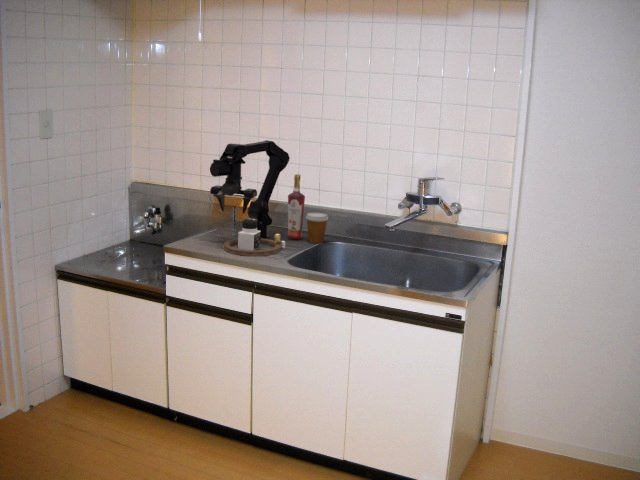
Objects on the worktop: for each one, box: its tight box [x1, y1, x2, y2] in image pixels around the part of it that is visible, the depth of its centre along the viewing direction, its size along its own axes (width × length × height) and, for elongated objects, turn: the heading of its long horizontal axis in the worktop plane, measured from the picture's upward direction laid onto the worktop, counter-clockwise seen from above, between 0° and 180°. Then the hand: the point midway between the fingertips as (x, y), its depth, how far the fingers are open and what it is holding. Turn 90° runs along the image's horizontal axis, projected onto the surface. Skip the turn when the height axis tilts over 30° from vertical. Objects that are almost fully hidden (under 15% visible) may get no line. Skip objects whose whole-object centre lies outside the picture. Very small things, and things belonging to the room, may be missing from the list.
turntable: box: [222, 233, 282, 257], centre depth 296 cm, size 23×23×6 cm
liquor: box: [286, 173, 306, 241], centre depth 313 cm, size 7×7×28 cm
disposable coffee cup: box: [305, 211, 329, 245], centre depth 311 cm, size 10×10×12 cm
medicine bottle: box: [237, 218, 261, 251], centre depth 295 cm, size 7×7×12 cm
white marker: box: [280, 240, 286, 249], centre depth 300 cm, size 1×2×2 cm, turn 18°
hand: (233, 212), depth 301 cm, fingers open, 9 cm apart
